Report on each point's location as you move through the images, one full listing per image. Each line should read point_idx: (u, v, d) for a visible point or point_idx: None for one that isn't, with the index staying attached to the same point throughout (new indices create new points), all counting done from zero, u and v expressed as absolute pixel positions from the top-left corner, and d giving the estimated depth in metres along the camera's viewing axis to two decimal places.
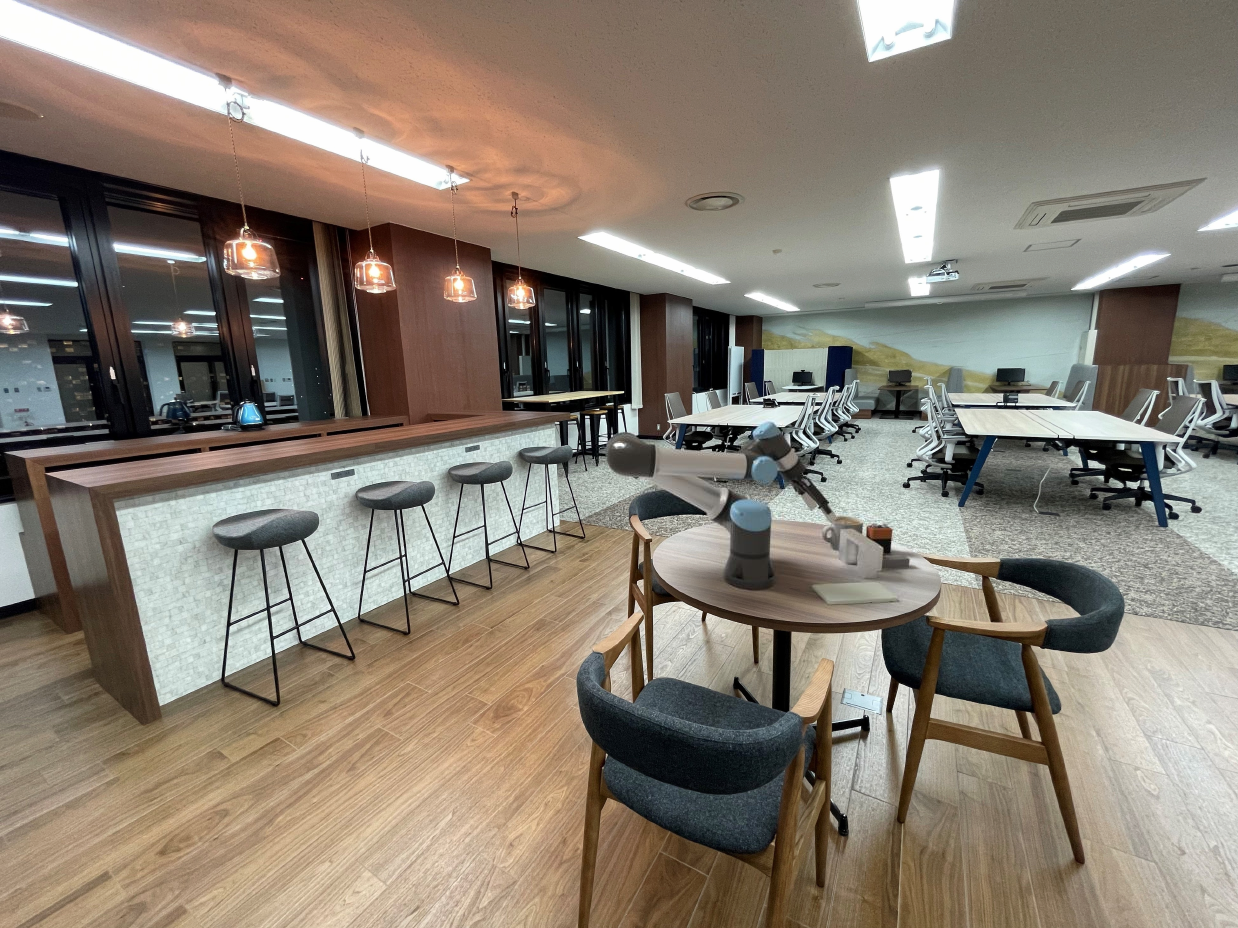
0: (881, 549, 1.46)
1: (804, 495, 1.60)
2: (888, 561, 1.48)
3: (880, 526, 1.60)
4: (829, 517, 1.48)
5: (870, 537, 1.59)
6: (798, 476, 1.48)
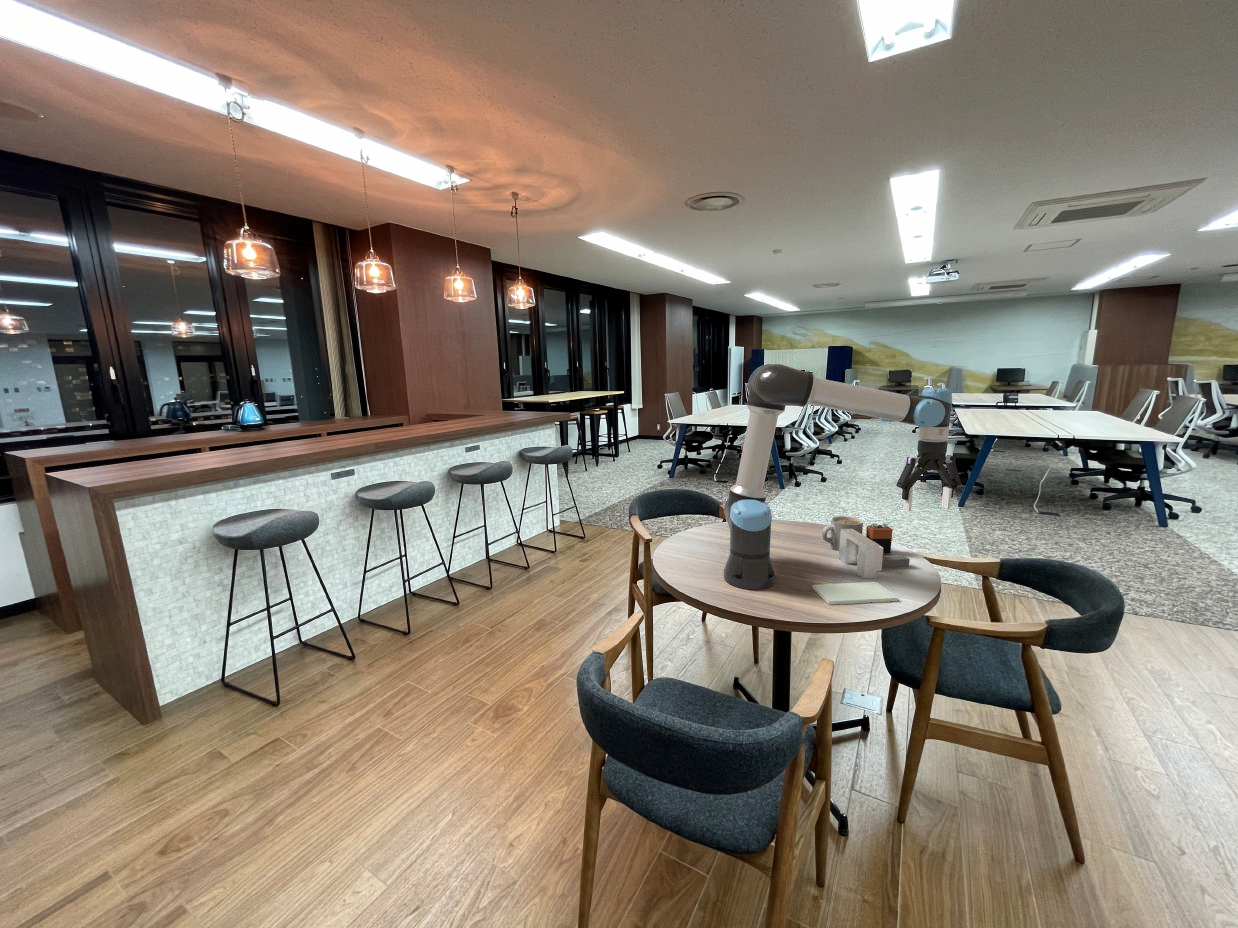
0: (881, 549, 1.46)
1: (945, 489, 1.46)
2: (888, 561, 1.48)
3: (880, 526, 1.60)
4: (904, 503, 1.47)
5: (870, 537, 1.59)
6: (918, 452, 1.43)
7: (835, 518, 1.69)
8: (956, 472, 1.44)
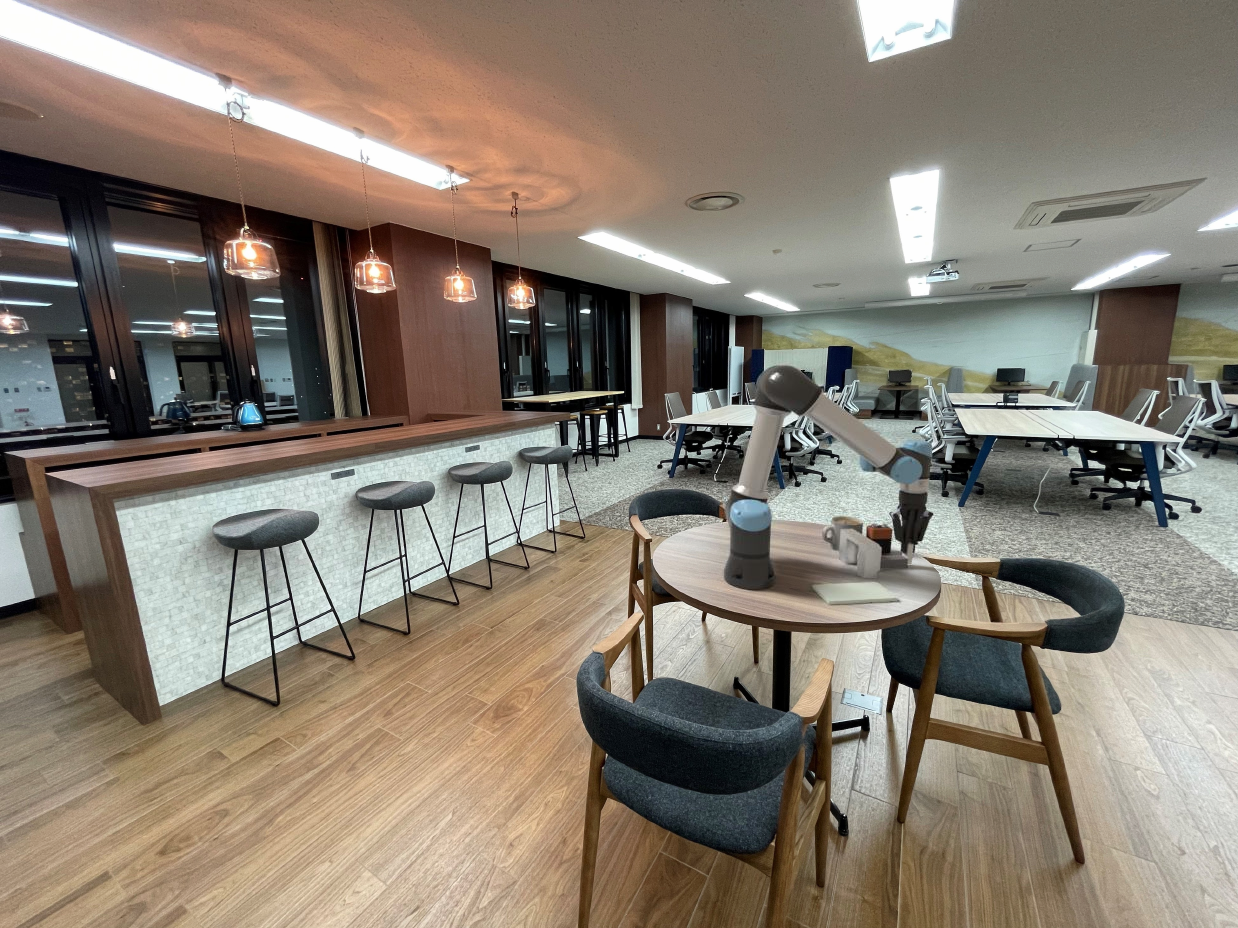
0: (879, 549, 1.46)
1: None
2: (886, 561, 1.48)
3: (880, 526, 1.60)
4: (903, 555, 1.50)
5: (870, 537, 1.59)
6: (899, 502, 1.46)
7: (835, 518, 1.69)
8: (925, 528, 1.46)
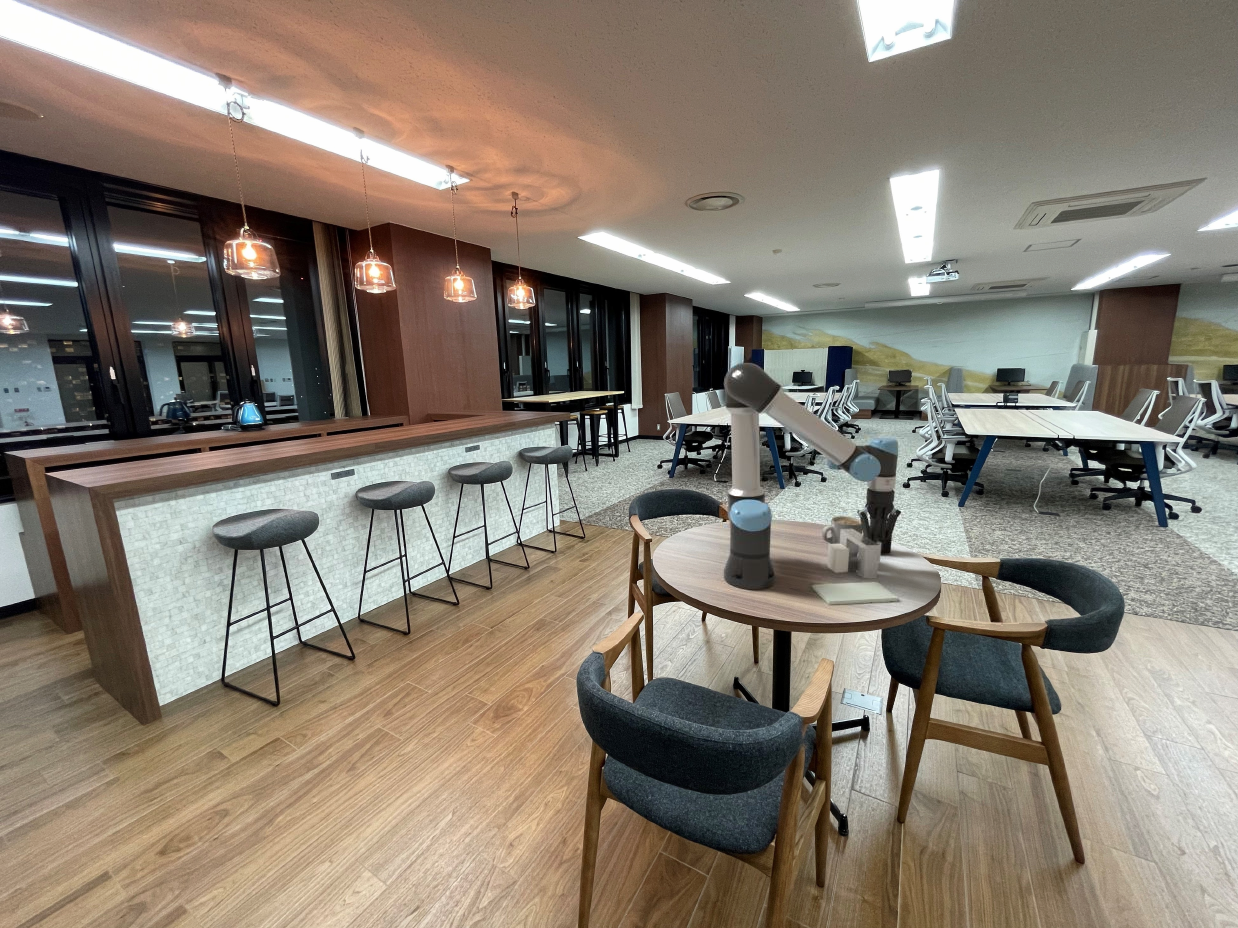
0: (847, 550, 1.45)
1: None
2: (854, 562, 1.47)
3: None
4: None
5: None
6: (867, 500, 1.45)
7: (835, 518, 1.69)
8: (893, 526, 1.46)
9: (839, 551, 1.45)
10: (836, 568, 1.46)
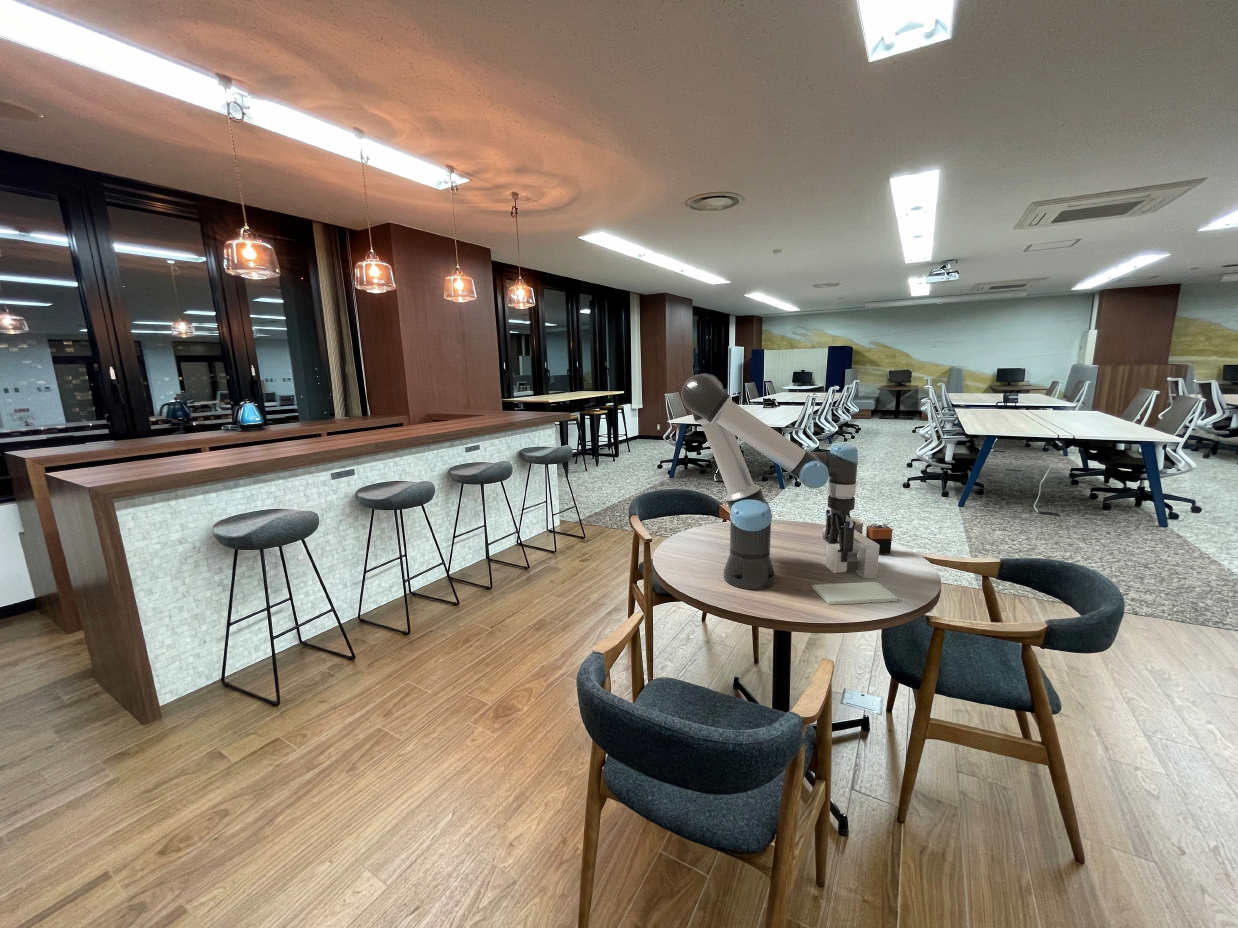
0: None
1: None
2: (853, 563, 1.47)
3: (880, 526, 1.60)
4: (840, 565, 1.45)
5: (870, 537, 1.59)
6: (845, 510, 1.41)
7: None
8: None
9: (837, 551, 1.45)
10: (835, 568, 1.46)
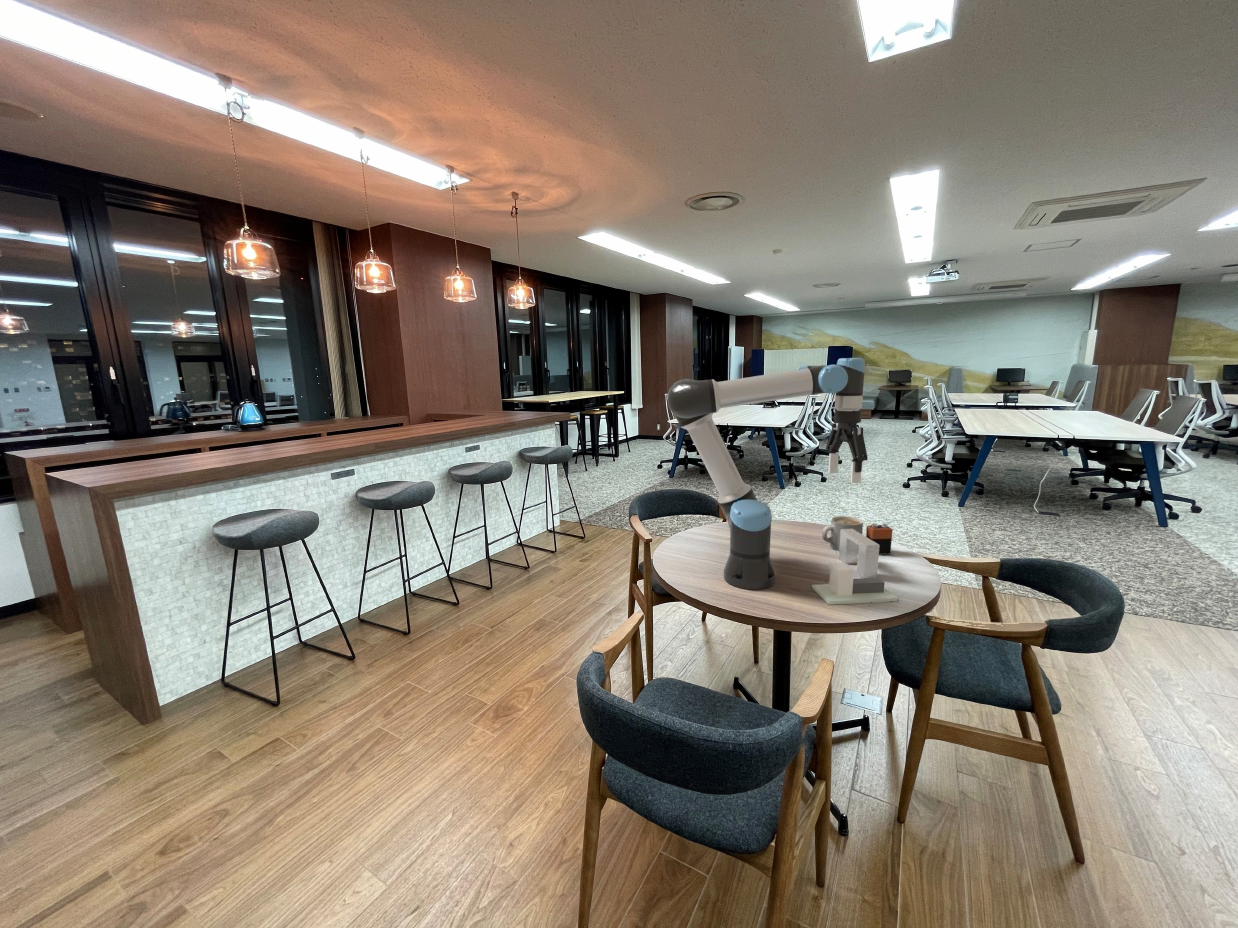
0: (851, 571, 1.28)
1: (833, 455, 1.53)
2: (860, 585, 1.30)
3: (880, 526, 1.60)
4: (854, 476, 1.40)
5: (870, 537, 1.59)
6: (852, 423, 1.40)
7: (835, 518, 1.69)
8: None
9: (842, 572, 1.28)
10: (839, 591, 1.29)
